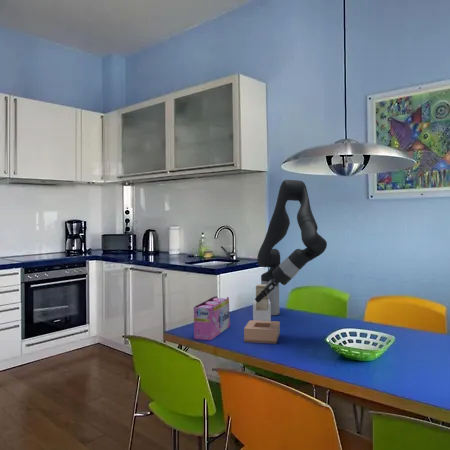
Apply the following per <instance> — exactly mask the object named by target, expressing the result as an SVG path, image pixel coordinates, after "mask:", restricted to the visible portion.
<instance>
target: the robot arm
mask: <svg viewBox="0 0 450 450" xmlns="http://www.w3.org/2000/svg"><path fill="white" fill-rule="evenodd" d="M309 197H310V196H309V193H308V189H307V185H306V183H305V182H304V181H302V180H298V179H295V180H294V179H284V180H283V181H282V182H281V183H280V186H279V190H278V195H277V199H276V203H275V207H274V210H273V213H272V216H271V219H270V221H269V224H268V228H267V231H266V234H265V237H264V240H263V242H262V244H261V246H260V247H259V250H258V252H257V257H256V259H257V265H258V266H259V267H261V268H269V270H267V271H265V272H264V273H262V274H261V275H260V284H261V285H266V286H265V287H264V290H263V291H261V293H260V294H259V295H258V296H257V297H256V296H255V298H254V299H255V300H256V301H257V302H260V301H261V300H262V299H263V298H264V297H266V296H267V295H268V299H269V301H270V303H271V316H277V315H280V284H281V285H283V286H285V285H287V284H288V283H289V282H290V281H291V280H292V279H293V278H294V277H296V276H297V274H298V273H299V272H300V270H302V268H303V267H305V266H306V265H307V263H308V262H311V261H313V260H314V259H316V258H318V257H319V256H320V255H322V254H323V253H324V252H325V251H326V250H327V246H328V244H327V240H326V239H325V238H324V237H322V236H321V235H320V234H319V233H318V224H317V222H316V219H315V217H314V214H313V212H312V208H311V203H310V198H309ZM288 201H291V202H292V201H294V202H299V204H300V207H299V209H298V210H297V214H296V221H297V224H298V227H299V229H300V234H301V241H302V244H303V245H304V246H305V248H303V249H301V248H297V249H295V250H294V251H292V253H290V255H288V256H287V257H286V258H285V259H283V261H282V262H281V254H280V251H279V250H278V249H277V248H274V247H275V246H276V245H277V244H279V242H281V241H282V240H283V239H284V238H285V237H286V235H287V233H288V231H289V227H290V225H291V220H290V218H289V217H290V216H289V214H288V212H287V210H286V206H287V205H286V204H287V202H288ZM265 290H266V291H267V294H266V293H265V292H264V291H265Z"/></svg>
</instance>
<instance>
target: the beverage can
mask: <svg viewBox="0 0 450 450" xmlns="http://www.w3.org/2000/svg"><path fill="white" fill-rule="evenodd" d="M271 316H272V315H271V303H270V301H269V299H268V310H267V311H259V310H256V300H255V298H254V299H253V302H252V320H254V321H272V319H271V318H272V317H271Z"/></svg>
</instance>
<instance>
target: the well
mask: <svg viewBox="0 0 450 450" xmlns="http://www.w3.org/2000/svg"><path fill="white" fill-rule="evenodd" d="M280 323H281V322H280V321H277V320H276V321H274V320H273V321H272V320H271V321H254V320H253V319H252V320H249V321H248V322H247V324H246V325H245V326H244V328H243V340H244V341H243V342H244V343H256V344H271V345H272V344H274V345H276V344H278V342H279V341H278V340H279V338H280V335H281V334H280V333H281V331H280V330H281V327H280V326H281V325H280Z"/></svg>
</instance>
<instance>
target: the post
mask: <svg viewBox="0 0 450 450" xmlns="http://www.w3.org/2000/svg"><path fill="white" fill-rule="evenodd" d="M265 286H266V285H261V283H260V284H257V285H255V298H256V297H257V296H258V295H259V294H260V293H261V291H263V290H264V287H265ZM264 292H265V293H266V294H267V291H266V290H265V291H264ZM256 310H259V311H267V310H268V295H267V296H266V297H264V298H263V299H262V300H261V301H260V302H257V301H256Z"/></svg>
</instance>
